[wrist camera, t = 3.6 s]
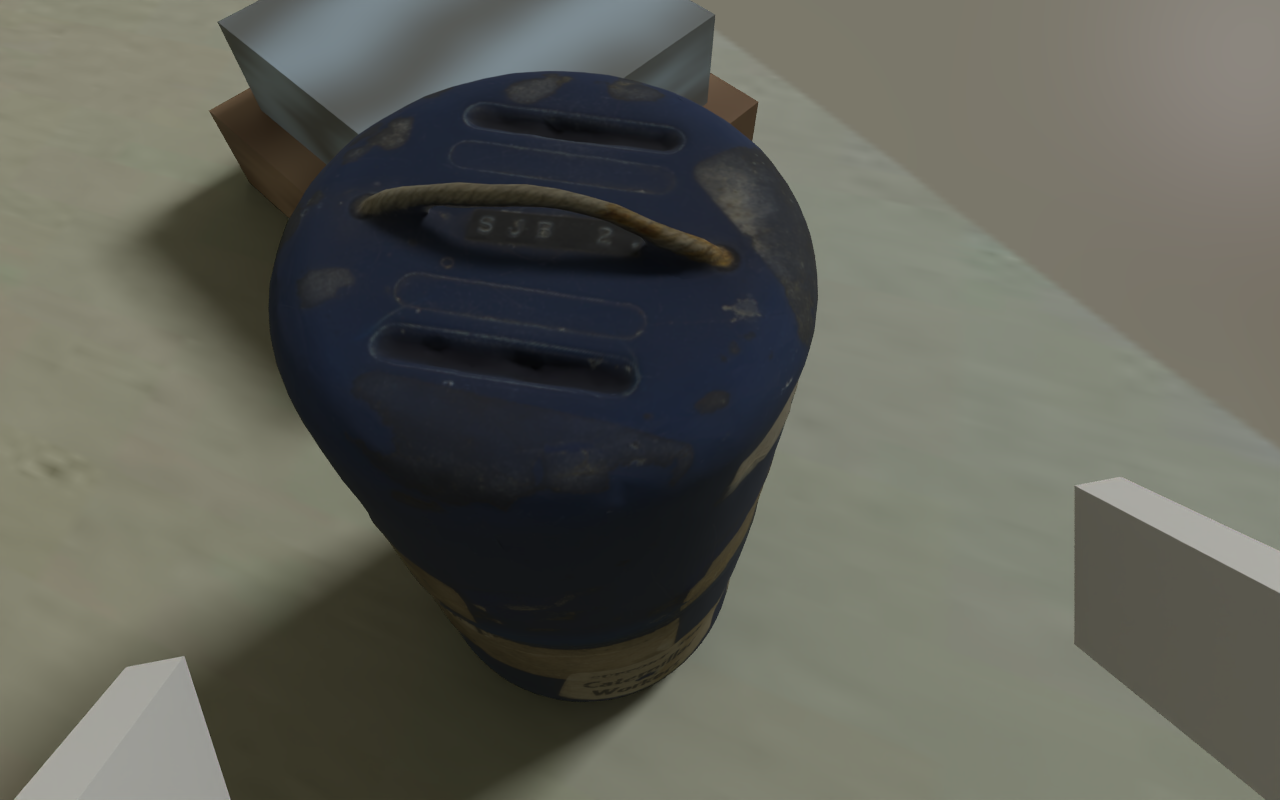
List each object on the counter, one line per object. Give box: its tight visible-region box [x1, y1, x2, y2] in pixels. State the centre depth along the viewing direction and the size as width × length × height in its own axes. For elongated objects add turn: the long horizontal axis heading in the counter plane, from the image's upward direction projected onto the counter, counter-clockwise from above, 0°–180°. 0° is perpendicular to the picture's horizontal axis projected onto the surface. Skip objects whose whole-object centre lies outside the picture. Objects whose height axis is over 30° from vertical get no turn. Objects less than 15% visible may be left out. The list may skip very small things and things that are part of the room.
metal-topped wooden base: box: [210, 0, 758, 218], centre depth 34 cm, size 16×16×8 cm
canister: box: [269, 71, 818, 702], centre depth 20 cm, size 10×10×18 cm
